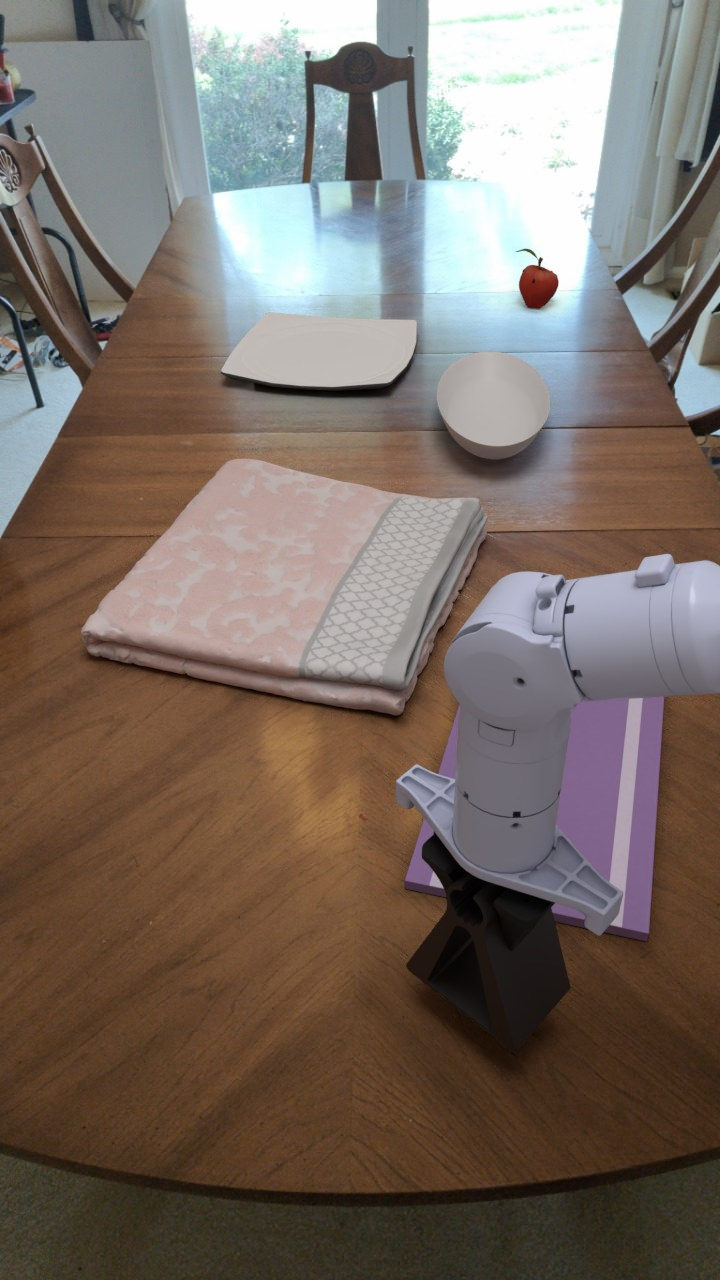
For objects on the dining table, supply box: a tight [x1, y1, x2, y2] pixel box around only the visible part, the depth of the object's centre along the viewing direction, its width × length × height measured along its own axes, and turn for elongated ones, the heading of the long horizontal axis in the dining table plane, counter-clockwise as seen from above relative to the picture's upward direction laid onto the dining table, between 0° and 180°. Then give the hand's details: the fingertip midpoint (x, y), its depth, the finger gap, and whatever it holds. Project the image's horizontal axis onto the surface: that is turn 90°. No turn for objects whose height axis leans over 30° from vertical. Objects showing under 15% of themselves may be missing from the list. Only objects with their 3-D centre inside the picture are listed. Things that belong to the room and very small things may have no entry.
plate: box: [220, 311, 418, 392], centre depth 156 cm, size 29×29×3 cm
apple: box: [515, 248, 559, 310], centre depth 172 cm, size 8×7×10 cm
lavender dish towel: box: [404, 697, 665, 942], centre depth 83 cm, size 28×18×1 cm, turn 164°
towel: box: [80, 458, 489, 716], centre depth 105 cm, size 36×34×6 cm
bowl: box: [436, 350, 551, 460], centre depth 133 cm, size 30×15×6 cm, turn 176°
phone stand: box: [405, 871, 572, 1054], centre depth 61 cm, size 9×6×12 cm, turn 46°
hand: (492, 931), depth 61 cm, fingers closed on phone stand, 3 cm apart
